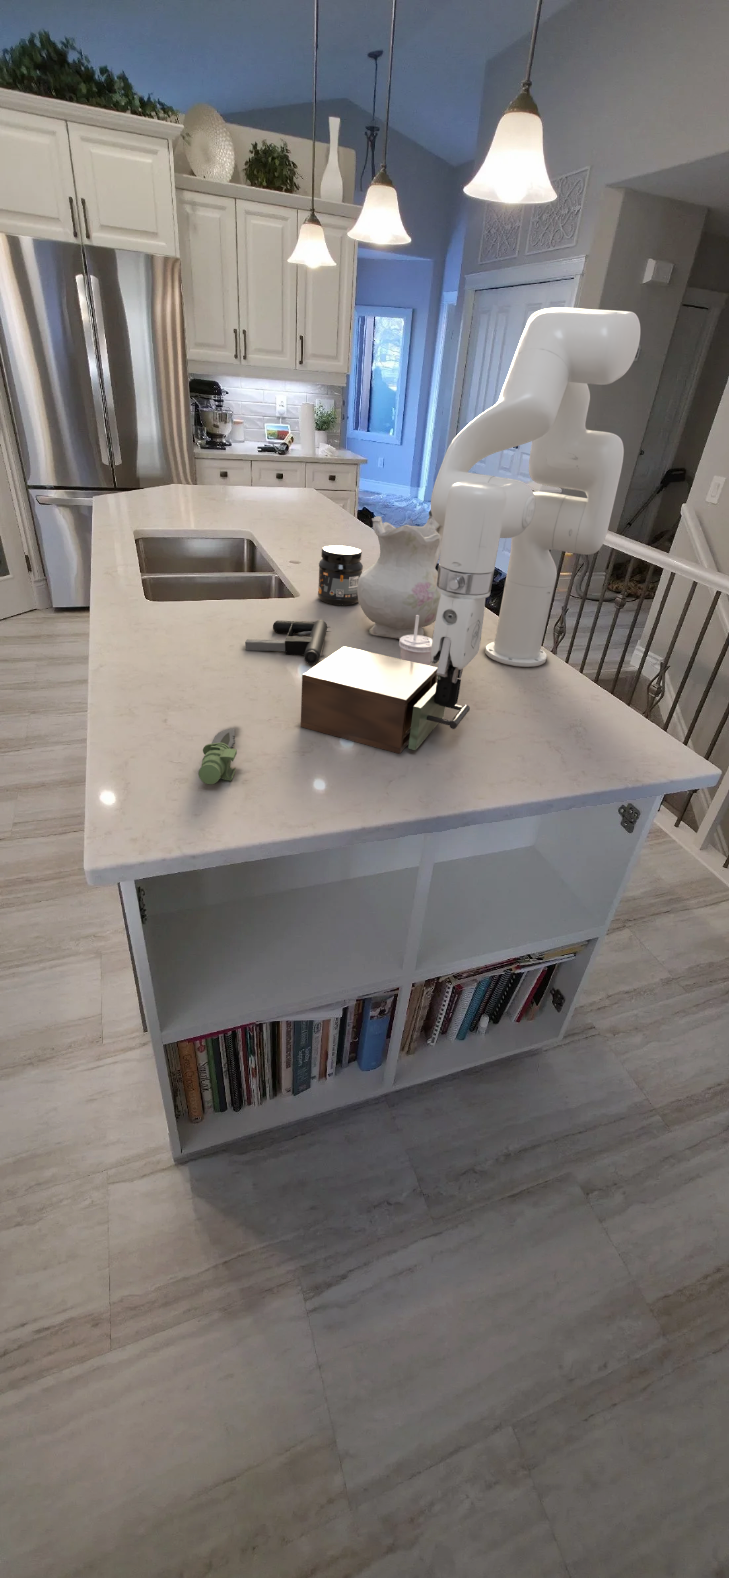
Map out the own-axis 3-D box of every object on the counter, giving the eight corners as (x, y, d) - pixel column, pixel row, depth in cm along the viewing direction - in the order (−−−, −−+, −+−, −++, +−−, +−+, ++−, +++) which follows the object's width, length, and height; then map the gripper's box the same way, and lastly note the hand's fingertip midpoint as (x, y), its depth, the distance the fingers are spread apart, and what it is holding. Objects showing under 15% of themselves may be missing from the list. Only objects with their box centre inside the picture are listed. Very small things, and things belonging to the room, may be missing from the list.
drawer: (471, 723, 110) (478, 684, 106) (446, 758, 99) (453, 716, 95) (357, 694, 116) (360, 656, 112) (321, 725, 105) (323, 683, 102)
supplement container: (323, 591, 171) (325, 542, 164) (364, 597, 169) (367, 547, 163) (312, 603, 162) (314, 551, 156) (355, 609, 161) (359, 557, 154)
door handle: (239, 648, 126) (324, 650, 126) (257, 616, 143) (332, 618, 143) (240, 665, 128) (325, 667, 128) (258, 631, 145) (333, 633, 145)
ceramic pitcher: (384, 615, 162) (386, 503, 149) (462, 625, 154) (471, 508, 142) (342, 640, 145) (340, 516, 133) (426, 653, 138) (433, 523, 125)
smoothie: (391, 685, 123) (399, 609, 116) (426, 686, 124) (436, 610, 117) (396, 699, 118) (404, 621, 110) (432, 700, 118) (443, 622, 111)
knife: (190, 758, 86) (229, 763, 86) (217, 714, 103) (250, 719, 103) (188, 786, 87) (227, 791, 88) (215, 738, 104) (248, 742, 105)
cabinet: (431, 717, 113) (438, 667, 108) (399, 754, 101) (406, 700, 96) (340, 694, 118) (343, 646, 113) (300, 726, 106) (301, 674, 102)
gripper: (475, 598, 86) (454, 728, 95) (504, 575, 97) (482, 692, 107) (420, 587, 88) (404, 715, 97) (454, 566, 100) (437, 682, 109)
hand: (445, 703), depth 102 cm, fingers closed
